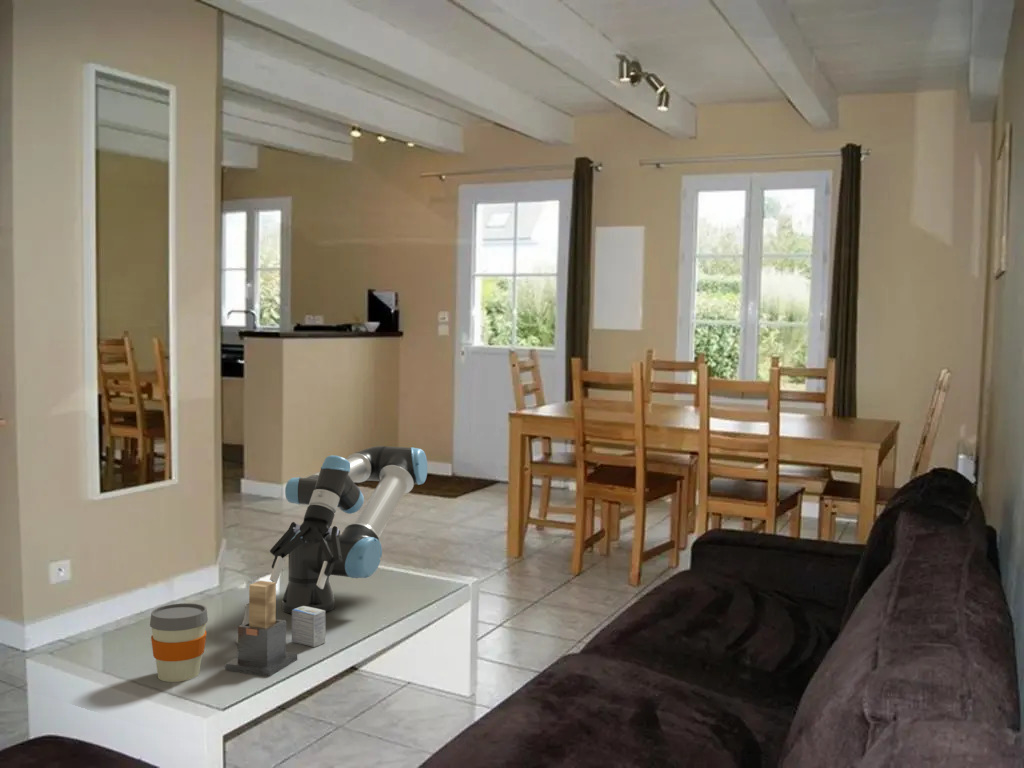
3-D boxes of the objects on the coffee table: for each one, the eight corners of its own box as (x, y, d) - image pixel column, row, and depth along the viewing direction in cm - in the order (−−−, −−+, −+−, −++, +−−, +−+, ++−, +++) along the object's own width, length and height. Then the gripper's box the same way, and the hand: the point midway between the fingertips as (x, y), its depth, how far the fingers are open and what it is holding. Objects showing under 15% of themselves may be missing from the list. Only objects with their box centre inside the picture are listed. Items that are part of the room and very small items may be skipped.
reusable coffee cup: (138, 682, 200) (138, 616, 199) (169, 663, 212) (169, 601, 212) (189, 687, 198) (189, 620, 197) (217, 667, 210) (218, 604, 210)
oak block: (259, 653, 215) (259, 580, 215) (276, 656, 214) (276, 582, 213) (247, 660, 211) (248, 585, 210) (264, 662, 209) (265, 587, 209)
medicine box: (325, 643, 229) (326, 610, 229) (313, 648, 225) (314, 614, 225) (303, 637, 233) (303, 605, 233) (291, 642, 229) (291, 609, 229)
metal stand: (254, 653, 220) (255, 613, 220) (297, 659, 216) (297, 619, 216) (225, 669, 209) (225, 627, 208) (269, 676, 205) (270, 633, 205)
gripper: (275, 499, 239) (247, 573, 228) (358, 507, 232) (333, 583, 221) (287, 512, 245) (260, 584, 234) (368, 519, 238) (345, 594, 227)
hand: (296, 584), depth 228 cm, fingers open, 13 cm apart
